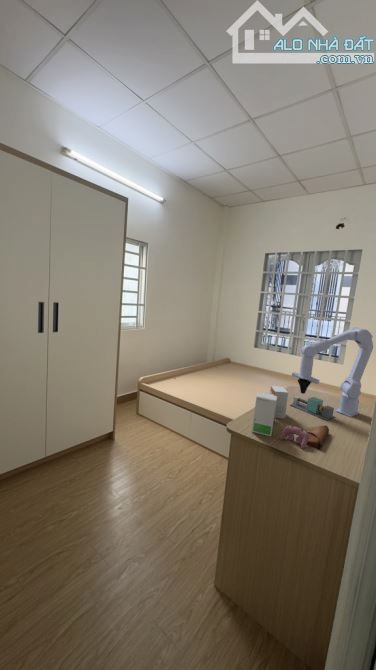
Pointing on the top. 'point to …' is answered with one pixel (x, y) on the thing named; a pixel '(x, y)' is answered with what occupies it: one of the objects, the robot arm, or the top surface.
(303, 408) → the grey base plate
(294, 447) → the top surface
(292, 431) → the pink lumpy irregular piece
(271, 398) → the skincare box
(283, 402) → the small box
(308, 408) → the sleeve
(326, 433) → the sunglasses case
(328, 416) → the linear slider
